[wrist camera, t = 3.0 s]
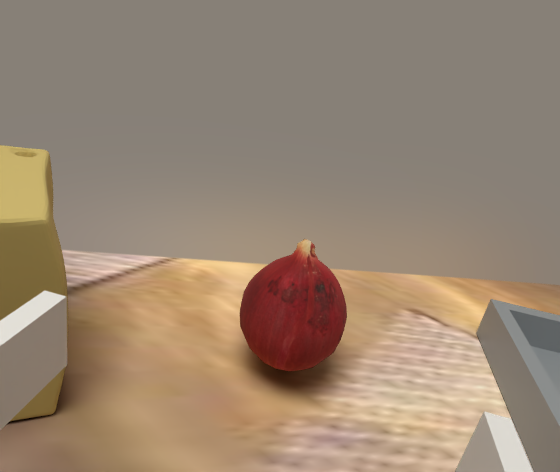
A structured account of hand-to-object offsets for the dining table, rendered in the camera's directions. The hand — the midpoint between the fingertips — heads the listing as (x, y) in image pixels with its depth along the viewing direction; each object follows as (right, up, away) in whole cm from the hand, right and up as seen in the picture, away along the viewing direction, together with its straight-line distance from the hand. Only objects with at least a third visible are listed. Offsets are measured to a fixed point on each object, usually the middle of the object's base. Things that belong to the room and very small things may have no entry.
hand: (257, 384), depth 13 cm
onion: (+1, -3, +12) cm, 12 cm away
